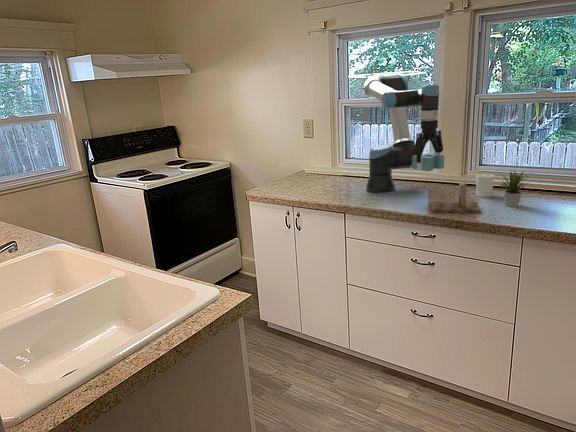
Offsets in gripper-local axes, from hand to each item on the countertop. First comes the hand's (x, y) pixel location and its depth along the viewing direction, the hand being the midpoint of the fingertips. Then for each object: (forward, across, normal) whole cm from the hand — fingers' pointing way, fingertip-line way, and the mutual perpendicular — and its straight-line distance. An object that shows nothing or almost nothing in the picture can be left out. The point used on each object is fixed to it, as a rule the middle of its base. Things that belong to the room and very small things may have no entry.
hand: (427, 167), depth 205 cm
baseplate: (+16, -2, -18) cm, 24 cm away
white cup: (+16, +26, -12) cm, 33 cm away
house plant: (+16, +21, -32) cm, 41 cm away
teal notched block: (0, 0, 0) cm, 0 cm away
